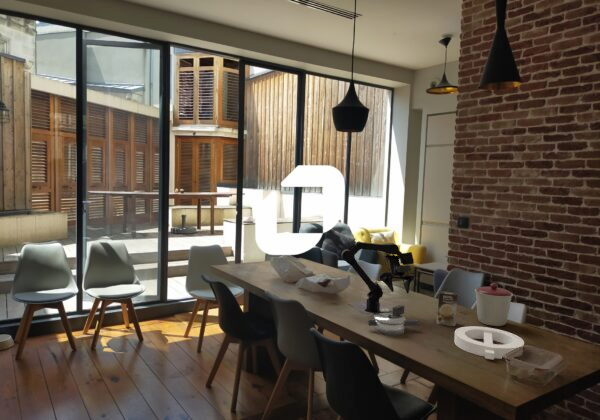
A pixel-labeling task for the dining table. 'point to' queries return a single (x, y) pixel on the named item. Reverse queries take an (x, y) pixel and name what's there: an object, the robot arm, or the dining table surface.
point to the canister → (493, 305)
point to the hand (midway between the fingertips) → (400, 292)
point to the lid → (391, 316)
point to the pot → (391, 327)
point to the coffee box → (447, 308)
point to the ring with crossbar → (486, 341)
